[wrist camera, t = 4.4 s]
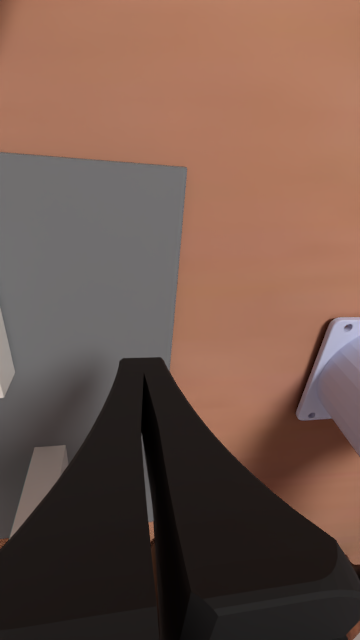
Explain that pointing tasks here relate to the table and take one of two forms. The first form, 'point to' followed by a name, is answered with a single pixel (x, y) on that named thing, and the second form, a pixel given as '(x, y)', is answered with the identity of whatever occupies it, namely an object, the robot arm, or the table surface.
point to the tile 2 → (39, 480)
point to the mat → (79, 295)
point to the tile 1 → (5, 360)
